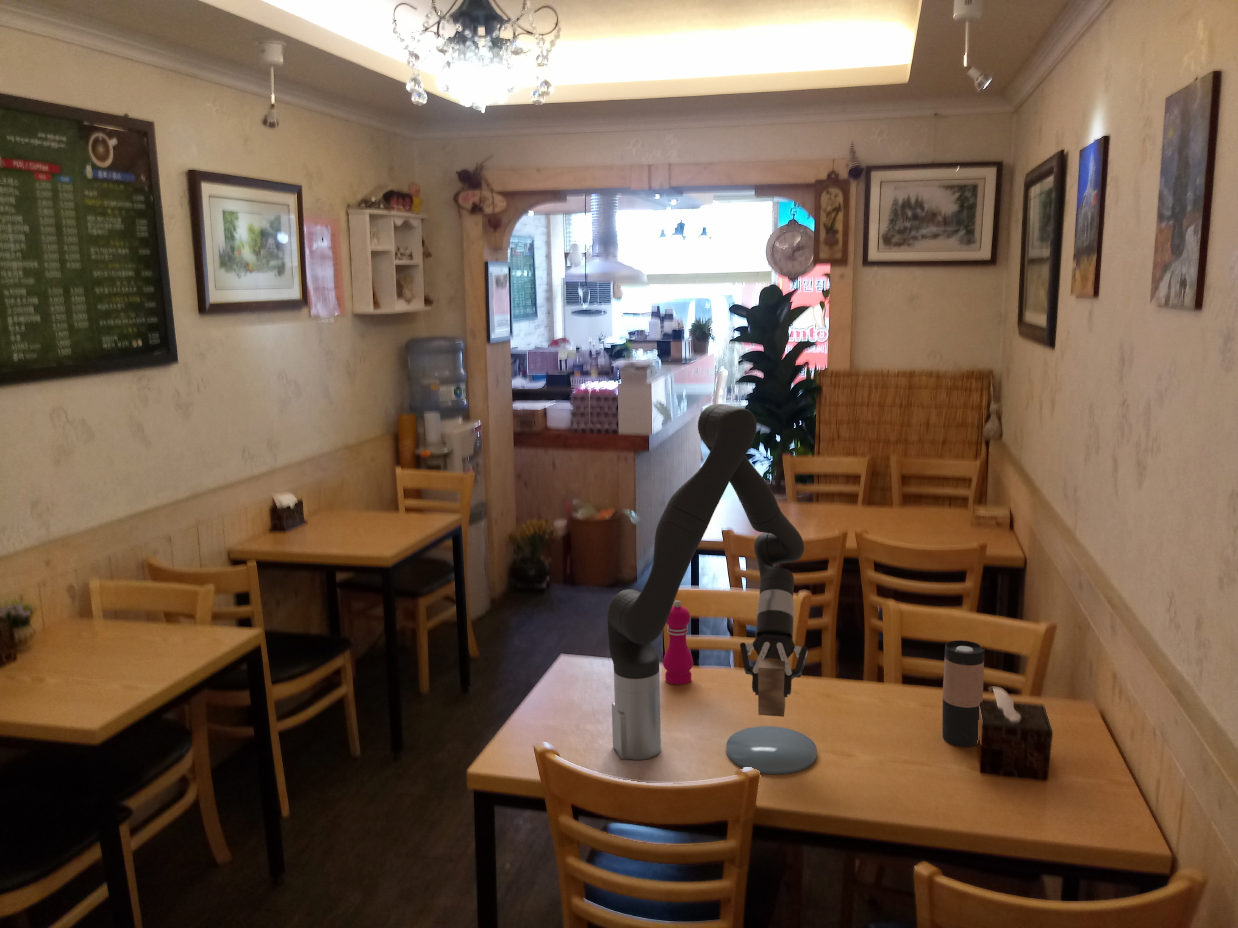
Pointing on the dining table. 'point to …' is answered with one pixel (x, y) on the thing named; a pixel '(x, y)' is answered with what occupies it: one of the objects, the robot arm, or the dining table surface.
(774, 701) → the walnut block
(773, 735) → the slate dish
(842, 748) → the dining table surface
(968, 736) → the travel mug
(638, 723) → the robot arm
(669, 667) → the pepper mill
